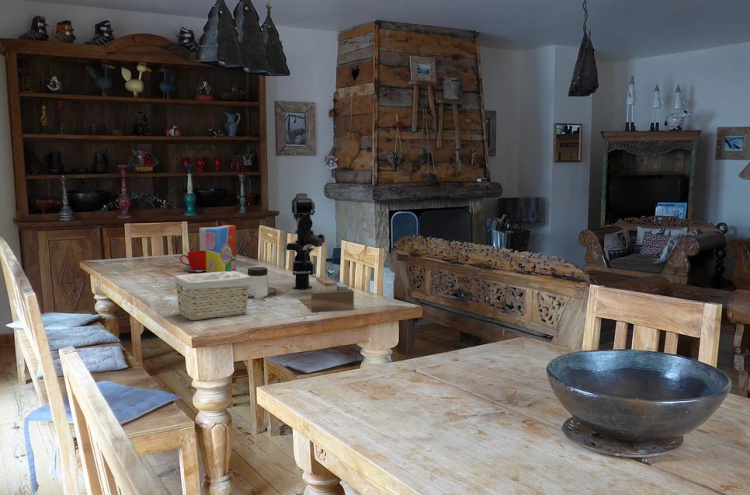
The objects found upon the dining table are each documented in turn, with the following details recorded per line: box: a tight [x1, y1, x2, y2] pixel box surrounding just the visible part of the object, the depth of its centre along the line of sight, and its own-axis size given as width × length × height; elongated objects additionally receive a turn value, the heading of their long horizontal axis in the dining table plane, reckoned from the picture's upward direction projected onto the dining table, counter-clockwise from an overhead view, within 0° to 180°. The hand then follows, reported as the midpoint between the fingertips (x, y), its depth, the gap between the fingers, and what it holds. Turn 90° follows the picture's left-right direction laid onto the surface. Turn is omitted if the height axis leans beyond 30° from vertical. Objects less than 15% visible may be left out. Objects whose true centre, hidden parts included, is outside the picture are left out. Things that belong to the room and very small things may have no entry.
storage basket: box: [174, 270, 250, 321], centre depth 245 cm, size 24×16×15 cm
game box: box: [205, 224, 237, 273], centre depth 299 cm, size 21×6×27 cm, turn 168°
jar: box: [247, 266, 269, 300], centre depth 277 cm, size 9×8×12 cm
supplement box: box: [198, 226, 215, 251], centre depth 390 cm, size 13×13×18 cm
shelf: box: [297, 289, 355, 313], centre depth 259 cm, size 25×16×8 cm, turn 19°
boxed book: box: [315, 276, 337, 292], centre depth 257 cm, size 14×4×10 cm, turn 19°
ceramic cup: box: [179, 250, 206, 271], centre depth 340 cm, size 13×17×10 cm
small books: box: [336, 281, 353, 291], centre depth 256 cm, size 10×5×8 cm, turn 19°
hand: (304, 265), depth 279 cm, fingers closed
